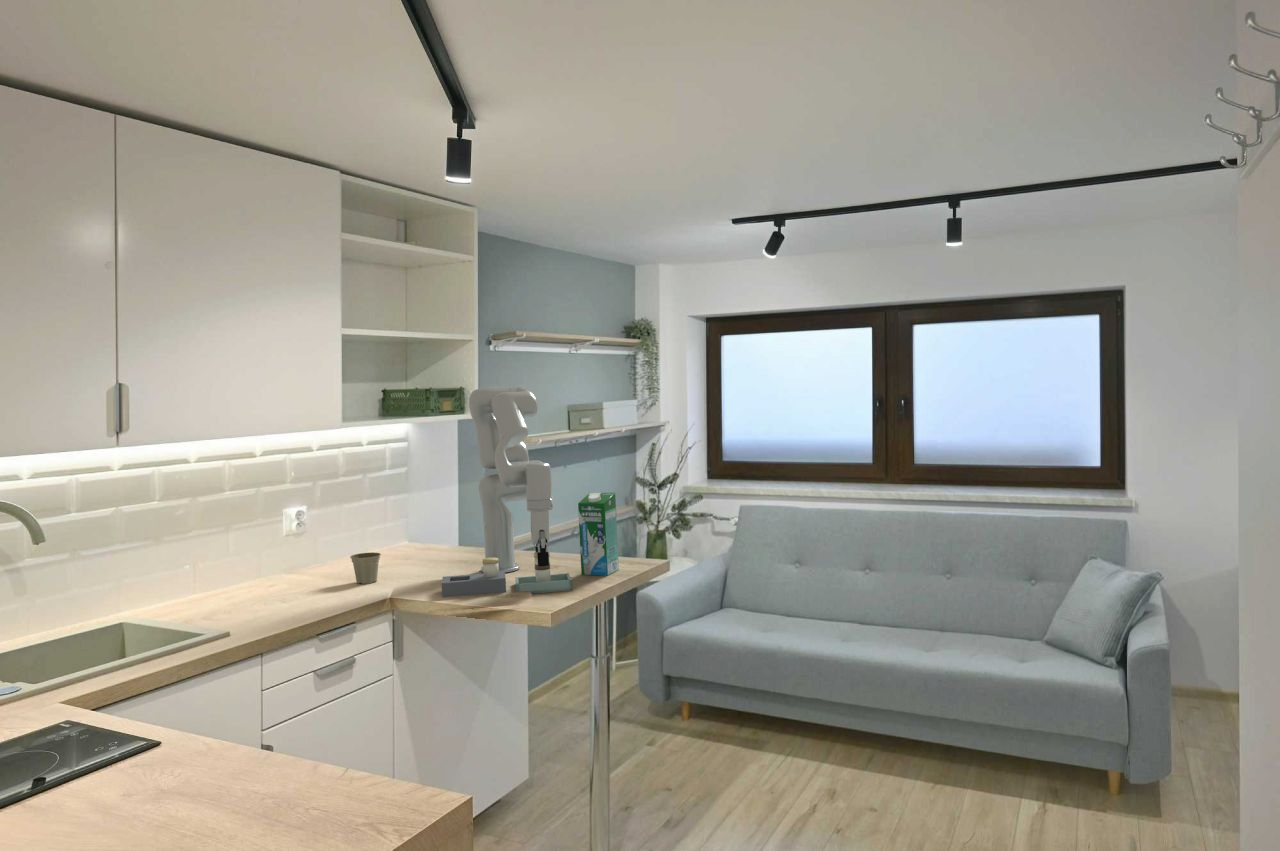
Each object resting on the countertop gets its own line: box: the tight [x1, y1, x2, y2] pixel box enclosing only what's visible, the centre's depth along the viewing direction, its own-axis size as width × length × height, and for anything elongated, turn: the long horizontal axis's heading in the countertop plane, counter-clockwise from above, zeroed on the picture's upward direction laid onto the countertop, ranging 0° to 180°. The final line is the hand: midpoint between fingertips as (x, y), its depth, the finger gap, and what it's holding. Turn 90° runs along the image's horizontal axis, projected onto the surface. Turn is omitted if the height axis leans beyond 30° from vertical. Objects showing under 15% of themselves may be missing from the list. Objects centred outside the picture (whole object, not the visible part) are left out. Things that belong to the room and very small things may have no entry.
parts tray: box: [514, 573, 573, 595], centre depth 261 cm, size 10×16×3 cm, turn 100°
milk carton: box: [577, 492, 619, 577], centre depth 281 cm, size 9×9×25 cm
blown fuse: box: [533, 550, 551, 582], centre depth 261 cm, size 5×5×10 cm
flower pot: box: [349, 552, 382, 585], centre depth 281 cm, size 9×9×9 cm
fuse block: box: [441, 557, 507, 598], centre depth 258 cm, size 9×18×10 cm, turn 100°
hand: (542, 562), depth 261 cm, fingers open, 9 cm apart
